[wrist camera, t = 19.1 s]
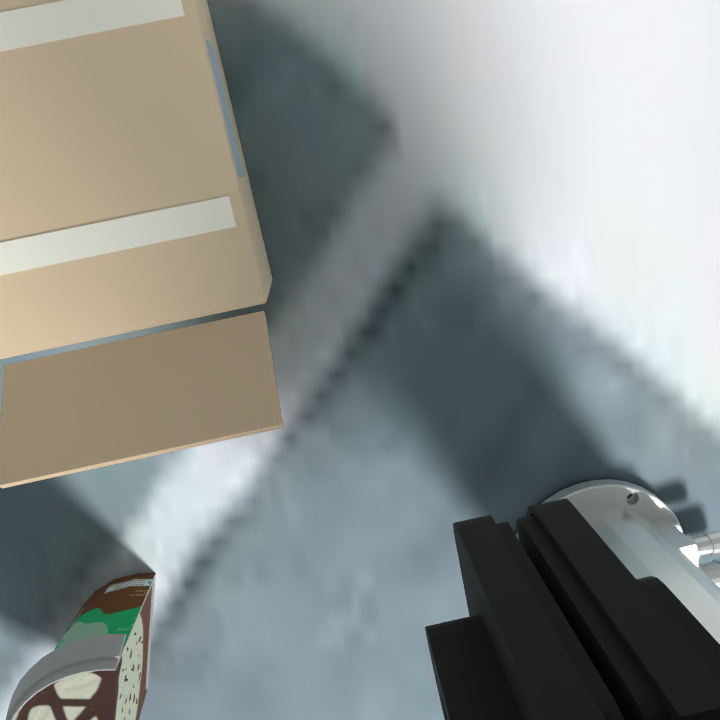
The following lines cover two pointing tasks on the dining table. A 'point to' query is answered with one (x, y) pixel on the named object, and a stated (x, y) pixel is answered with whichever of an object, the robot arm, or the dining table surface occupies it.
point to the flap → (137, 399)
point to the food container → (95, 660)
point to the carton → (118, 173)
